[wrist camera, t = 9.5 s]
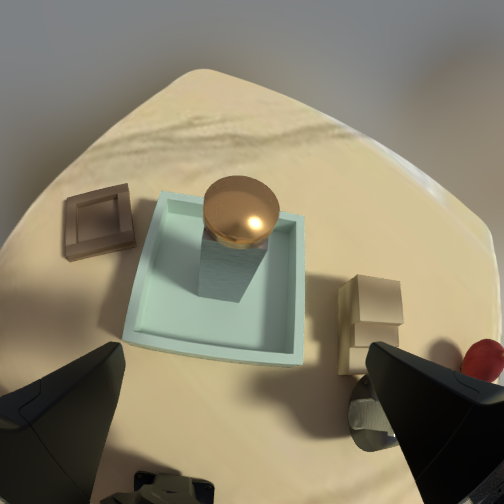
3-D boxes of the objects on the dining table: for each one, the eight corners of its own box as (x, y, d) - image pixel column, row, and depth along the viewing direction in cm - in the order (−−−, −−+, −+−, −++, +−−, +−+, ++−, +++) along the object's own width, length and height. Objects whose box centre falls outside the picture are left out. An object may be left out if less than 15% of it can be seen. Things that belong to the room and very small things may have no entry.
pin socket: (136, 246, 24) (133, 240, 23) (70, 262, 22) (65, 256, 21) (129, 190, 27) (127, 183, 26) (70, 204, 25) (67, 197, 24)
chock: (378, 374, 24) (405, 369, 20) (336, 375, 23) (360, 371, 19) (376, 295, 28) (399, 281, 24) (336, 290, 27) (357, 274, 23)
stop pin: (241, 306, 23) (278, 244, 14) (194, 298, 23) (196, 230, 13) (246, 263, 25) (280, 183, 15) (202, 256, 25) (210, 170, 15)
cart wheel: (377, 440, 20) (439, 447, 13) (333, 447, 19) (390, 464, 12) (380, 374, 23) (442, 362, 16) (337, 376, 23) (397, 366, 15)
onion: (476, 361, 26) (521, 346, 19) (465, 397, 23) (513, 387, 16) (457, 339, 27) (504, 320, 20) (444, 377, 24) (496, 364, 17)
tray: (290, 367, 22) (302, 364, 20) (130, 345, 20) (121, 339, 18) (294, 232, 29) (304, 216, 26) (163, 209, 27) (161, 190, 24)
